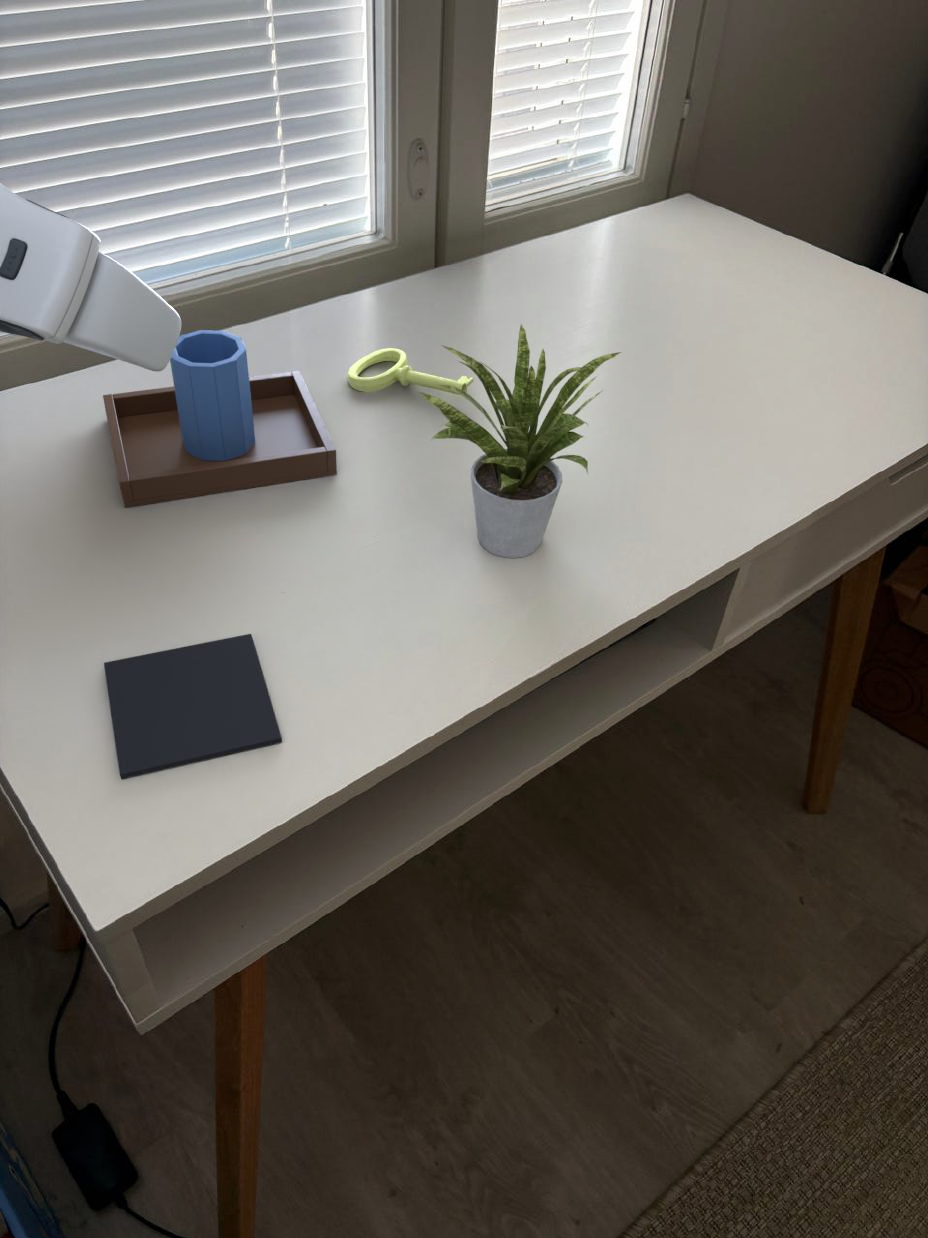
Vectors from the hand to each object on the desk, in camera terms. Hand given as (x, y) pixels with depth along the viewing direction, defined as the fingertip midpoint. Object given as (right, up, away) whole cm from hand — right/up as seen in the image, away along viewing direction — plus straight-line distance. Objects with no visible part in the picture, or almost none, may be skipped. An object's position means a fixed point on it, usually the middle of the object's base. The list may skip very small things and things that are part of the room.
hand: (100, 339), depth 70 cm
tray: (+4, -4, +19) cm, 20 cm away
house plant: (+29, -12, +13) cm, 34 cm away
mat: (+7, -25, -3) cm, 26 cm away
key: (+19, +3, +28) cm, 35 cm away
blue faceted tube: (+4, -4, +19) cm, 19 cm away
